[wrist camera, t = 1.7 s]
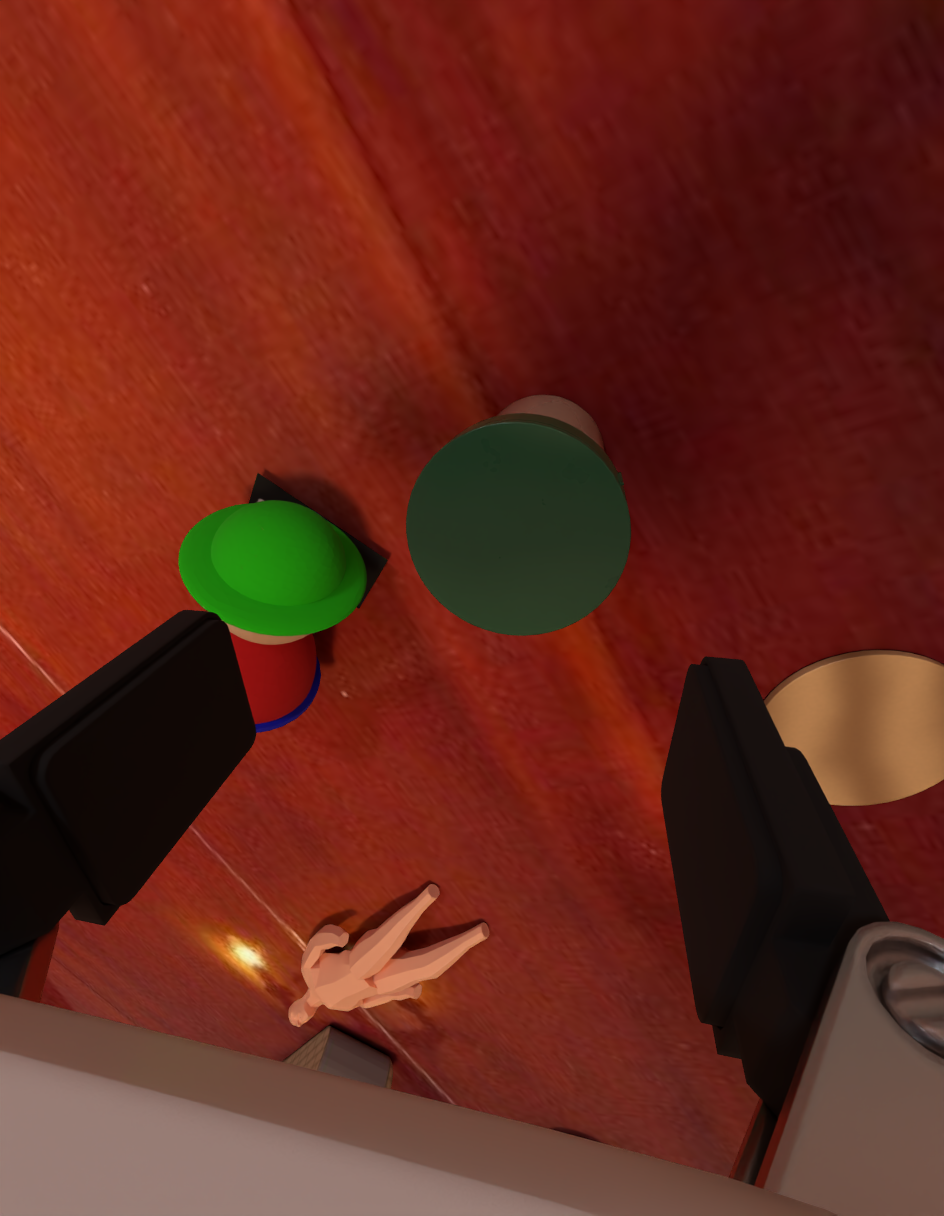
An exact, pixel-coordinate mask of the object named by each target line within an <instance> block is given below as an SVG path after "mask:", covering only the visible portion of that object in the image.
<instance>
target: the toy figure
mask: <svg viewBox="0 0 944 1216" xmlns="http://www.w3.org/2000/svg"><path fill="white" fill-rule="evenodd" d="M387 561H388V560H387V559H385V558H384V557H382V556H381V555H379V554H378V553H376V552H375V551H373V550H372V549H370V548H369V547H367V546H366V545H364V544H363V543H361V542H360V541H358V540H357V539H355V538H354V537H352V536H351V535H349V534H348V533H346V532H345V531H343V530H342V529H340V528H339V527H337V526H336V525H335V524H333V523H332V522H330V521H329V520H327V519H326V518H324V517H323V516H321V515H320V514H318V513H317V512H315V511H314V510H312V509H311V508H309V507H308V506H306V505H305V504H303V503H302V502H300V501H299V500H297V499H296V498H294V497H293V496H291V495H290V494H288V493H287V492H285V491H284V490H282V489H281V488H280V487H278V486H277V485H275V484H274V483H272V482H271V481H269V480H268V479H266V478H265V477H263V476H262V475H260V474H259V473H258V474H257V477H256V481H255V484H254V487H253V491H252V494H251V497H250V501H249V504H241V505H235V506H231V507H227V508H224V509H222V510H219V511H216V512H214V513H212V514H210V515H209V516H207V517H205V518H204V519H202V520H201V521H200V522H198V523H197V524H196V525H195V526H194V527H193V528H192V529H191V530H190V531H189V532H188V534H187V535H186V537H185V538H184V540H183V542H182V545H181V548H180V552H179V570H180V574H181V577H182V580H183V582H184V584H185V586H186V588H187V589H188V591H189V593H190V594H191V595H192V597H193V598H194V599H195V600H196V601H197V602H198V603H199V604H200V605H201V606H202V607H203V608H204V609H205V610H206V611H205V612H214V613H216V614H217V615H218V616H219V617H220V618H221V620H222V621H224V622H225V623H226V624H227V625H228V628H229V631H230V635H231V638H232V642H233V646H234V649H235V653H236V657H237V660H238V664H239V668H240V671H241V675H242V679H243V682H244V686H245V690H246V693H247V697H248V701H249V704H250V708H251V712H252V715H253V719H254V722H255V726H256V733H258V732H264V731H270V730H273V729H276V728H279V727H282V726H284V725H286V724H288V723H289V722H291V721H293V720H295V719H296V718H298V717H299V716H300V715H301V714H302V713H303V712H304V711H305V710H306V709H307V708H308V707H309V706H310V704H311V703H312V701H313V699H314V697H315V695H316V693H317V691H318V688H319V684H320V677H321V672H320V664H319V660H318V658H317V655H316V645H315V640H314V636H313V633H315V632H319V631H322V630H325V629H327V628H330V627H332V626H334V625H336V624H338V623H339V622H341V621H342V620H343V619H345V618H346V617H348V616H349V615H350V614H351V613H352V612H353V610H354V609H355V608H356V607H357V608H360V606H361V604H362V603H363V601H364V599H365V598H366V596H367V594H368V593H369V591H370V589H371V588H372V586H373V584H374V583H375V581H376V579H377V578H378V576H379V574H380V572H381V571H382V569H383V567H384V566H385V564H386V562H387Z"/></svg>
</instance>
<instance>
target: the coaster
mask: <svg viewBox="0 0 944 1216" xmlns="http://www.w3.org/2000/svg"><path fill="white" fill-rule="evenodd" d="M764 703H765V705H766V707H767V709H768V711H769V714H770V716H771V718H772V720H773V722H774V724H775V726H776V728H777V730H778V732H779V734H780V736H781V739H782V741H783V743H784V745H785V746H786V747H794V748H796V749H798V750H800V751H801V752H802V754H803V755H804V756H805V758H806V759H807V761H808V763H809V765H810V767H811V769H812V771H813V773H814V775H815V777H816V779H817V781H818V783H819V785H820V786H821V788H822V790H823V792H824V794H825V796H826V798H827V800H828V802H829V804H832V805H843V806H859V805H872V804H879V803H885V802H890V801H894V800H898V799H901V798H905V797H908V796H911V795H914V794H916V793H918V792H921V791H923V790H925V789H927V788H929V787H931V786H933V785H935V784H937V783H938V782H940V781H941V780H943V779H944V665H943V664H941V663H939V662H937V661H935V660H932V659H930V658H927V657H924V656H920V655H916V654H913V653H908V652H901V651H892V650H870V651H859V652H852V653H846V654H842V655H838V656H834V657H830V658H827V659H825V660H822V661H819V662H816V663H814V664H812V665H810V666H807V667H805V668H803V669H801V670H800V671H798V672H796V673H795V674H793V675H791V676H790V677H788V678H787V679H786V680H784V681H783V682H782V683H780V684H779V685H778V686H777V687H776V688H775V689H774V690H773V691H772V692H771V693H770V694H769V695H768V697H767V698H766V699H765V700H764Z"/></svg>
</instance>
